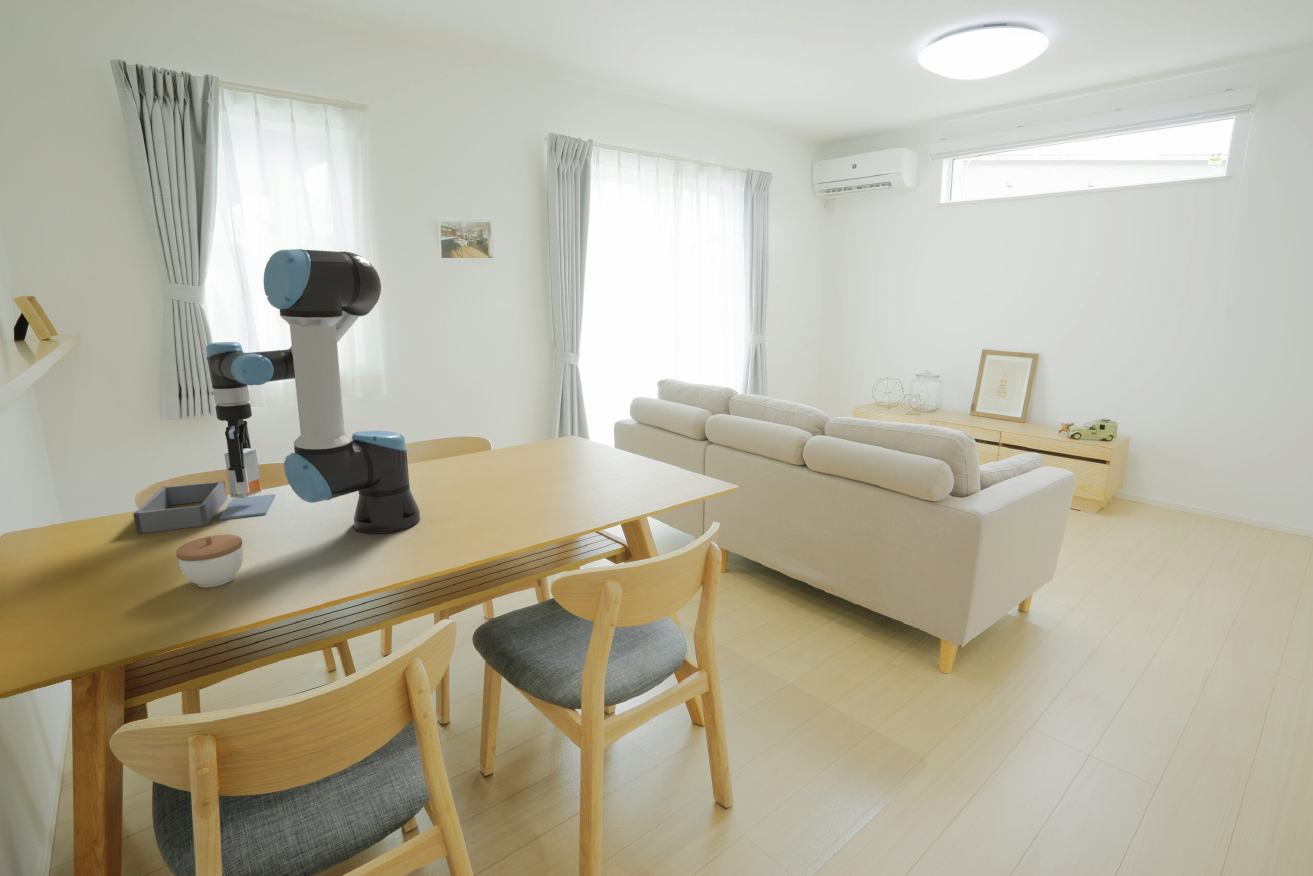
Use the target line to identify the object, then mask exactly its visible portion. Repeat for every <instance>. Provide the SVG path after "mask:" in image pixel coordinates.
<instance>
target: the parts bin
mask: <svg viewBox="0 0 1313 876" xmlns="http://www.w3.org/2000/svg"><path fill="white" fill-rule="evenodd" d="M226 487H227V486H226V482H225V480H221V481H220V480H219V481H210V482H203V483H202V482H201V483H191V484H190V483H189V484H181V485H179V484H178V485H171V486H170V485H169V486H162V487H161V488H160V489H159V490H157V491H156V492H155V493H154V494H153V495H152V496H151V497H150V498H149V499H148V500H147V501H146V502H144V503H143V504H142V505H141V506H140V507H139V508H138V509H137V510H136V511H134V512H133V519H134V524H135V528H136V533H137V535H138V534H145V533H154V532H162V531H171V530H179V529H188V528H195V527H204V526H206V527H207V526H208V525H209V524H210V523H211V521H212V519H213V518H214V517H215V515H216V514H217V513H218V512H219V510H220V509H221V507H222V506H223V504H224V503H225V502H226V501H227V499H228V495H227V489H226ZM200 501H201V502H200ZM192 502H196V503H201V504H200V505H191V506H182V507H174V508H169V506H174V505H175V506H176V505H185V504H193V503H192Z"/></svg>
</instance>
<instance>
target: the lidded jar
mask: <svg viewBox="0 0 1313 876" xmlns="http://www.w3.org/2000/svg"><path fill="white" fill-rule="evenodd" d="M243 548H244V547H243V538H241V537H240V536H239V535H235V534H215V535H207V536H205V537H201V538H197V539H194V540H191V541H187V542H186V543H183V544H181V546H179V547H178V548H177V549H176V551H175V555H176V557H177V561H178V565H179V568H180V570H181V572H182V574H183V576H184V577H185V579H186V580H188V581H189V582H191V583H192V584H195V585H197V587H198V588H199V587H200V588H205V589H207V588H214V587H220V586H223V585H225V584H228V583H230V582H232V581H233V579H234V578H235V576H236V575H237V574H238V573H239V571H240V569H241V567H242V564H243V561H244V552H243V551H244V549H243Z"/></svg>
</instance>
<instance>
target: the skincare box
mask: <svg viewBox="0 0 1313 876" xmlns="http://www.w3.org/2000/svg"><path fill="white" fill-rule="evenodd" d="M243 457H244V466H245V468H246V473H247V480H248V486H249V493H244V494H237V493H236V487H235V481H234V475H233V470H231V471H229V468H230V462H229V455H228V452H225V453H224V460H225V466H226V467H225V468H226V475H227V482H228V487H229V494H230V498H246V497H252V496H253V495H256V494H258V493H261V492H262V486H261V485H262V484H261V477H260V471H259V461H258V455H257V449H256V448H251V449H249V448H243ZM235 465H237V464H235Z"/></svg>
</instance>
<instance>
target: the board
mask: <svg viewBox="0 0 1313 876" xmlns="http://www.w3.org/2000/svg"><path fill="white" fill-rule="evenodd" d="M275 497H276V493H273V494H263V495H262V494H261V495H254V496H253V495H251V496H248V497H246V498H234V497H232V500H231V501H230V502H229V503H228V505H227V507H226V508H225V509H224V511H223V512H222V514H221V515H220V517H219V521H223V520H224V521H225V520H232V519H240V518H242V519H243V518H249V517H250V518H251V517H257V516H266V515H267V513H268V511H269V509H270V508H271V505H272V503H273V502H274V500H275Z"/></svg>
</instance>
